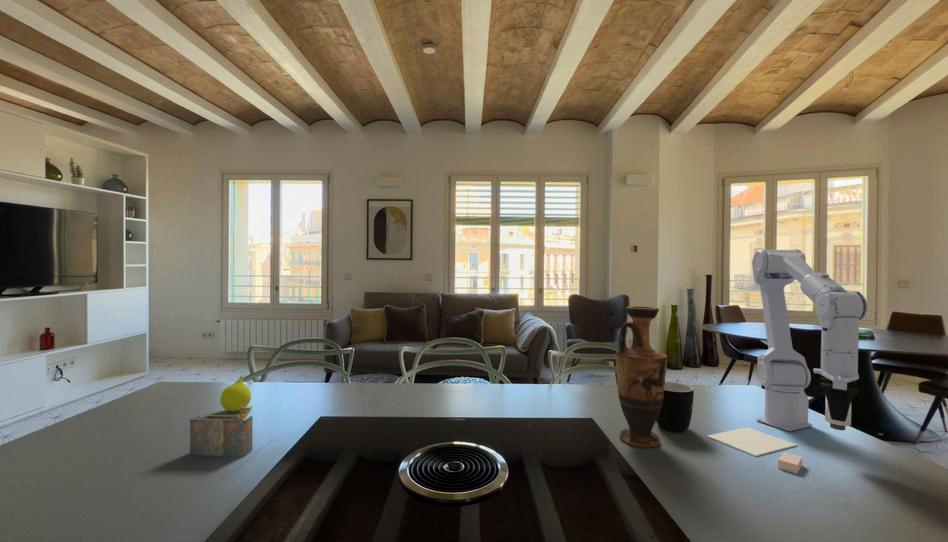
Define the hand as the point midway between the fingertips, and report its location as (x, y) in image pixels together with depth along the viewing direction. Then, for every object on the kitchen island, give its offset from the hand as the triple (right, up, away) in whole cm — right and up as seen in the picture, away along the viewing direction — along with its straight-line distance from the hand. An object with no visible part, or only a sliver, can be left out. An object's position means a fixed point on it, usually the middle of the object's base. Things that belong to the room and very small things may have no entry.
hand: (837, 417), depth 87 cm
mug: (-26, -9, +18) cm, 33 cm away
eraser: (-12, -9, -3) cm, 15 cm away
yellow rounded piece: (-137, -7, +25) cm, 139 cm away
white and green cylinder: (0, -2, 0) cm, 2 cm away
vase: (-37, -9, +9) cm, 39 cm away
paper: (-12, -9, +9) cm, 17 cm away
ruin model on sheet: (-126, -8, 0) cm, 126 cm away
